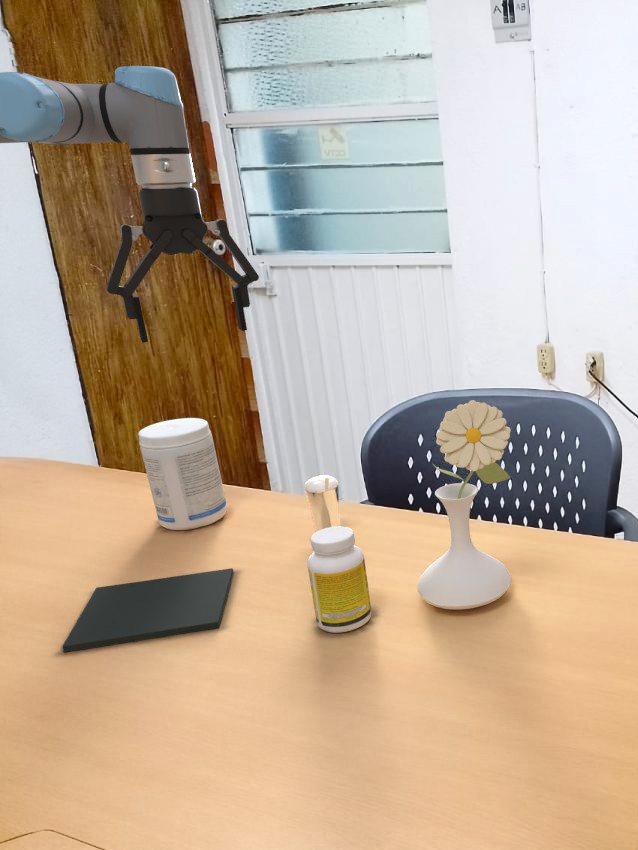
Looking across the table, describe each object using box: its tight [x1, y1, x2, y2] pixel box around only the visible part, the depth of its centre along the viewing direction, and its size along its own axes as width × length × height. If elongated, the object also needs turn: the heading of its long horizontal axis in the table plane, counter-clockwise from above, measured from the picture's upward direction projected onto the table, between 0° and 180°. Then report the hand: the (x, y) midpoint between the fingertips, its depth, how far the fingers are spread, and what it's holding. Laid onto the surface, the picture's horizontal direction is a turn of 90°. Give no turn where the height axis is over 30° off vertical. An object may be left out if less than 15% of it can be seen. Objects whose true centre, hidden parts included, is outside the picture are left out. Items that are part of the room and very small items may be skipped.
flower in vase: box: [416, 399, 512, 610], centre depth 97 cm, size 13×11×25 cm
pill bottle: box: [307, 525, 372, 634], centre depth 95 cm, size 6×6×11 cm
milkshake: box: [303, 474, 341, 533], centre depth 116 cm, size 5×5×10 cm
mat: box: [61, 567, 234, 653], centre depth 100 cm, size 16×14×1 cm
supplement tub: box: [137, 417, 228, 531], centre depth 123 cm, size 10×10×15 cm
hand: (194, 335), depth 124 cm, fingers open, 13 cm apart
